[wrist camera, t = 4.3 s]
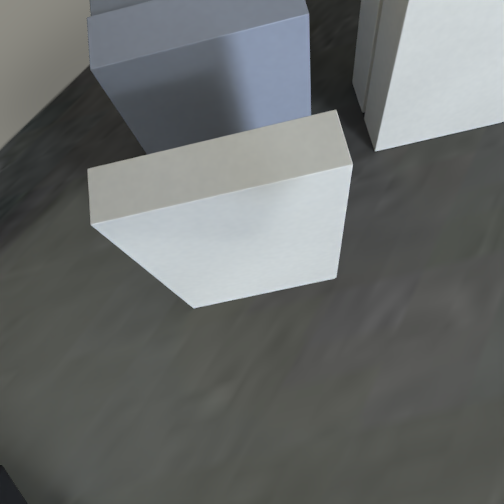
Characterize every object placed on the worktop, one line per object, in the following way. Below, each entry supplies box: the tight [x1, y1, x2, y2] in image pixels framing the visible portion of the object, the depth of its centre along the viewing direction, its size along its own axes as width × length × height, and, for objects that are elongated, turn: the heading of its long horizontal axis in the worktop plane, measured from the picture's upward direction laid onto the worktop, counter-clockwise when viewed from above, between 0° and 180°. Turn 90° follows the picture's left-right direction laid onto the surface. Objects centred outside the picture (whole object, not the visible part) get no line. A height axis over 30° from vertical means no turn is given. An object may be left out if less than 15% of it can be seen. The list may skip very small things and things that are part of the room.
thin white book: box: [87, 110, 353, 308], centre depth 24 cm, size 2×10×15 cm, turn 101°
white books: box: [352, 0, 504, 151], centre depth 27 cm, size 6×10×15 cm, turn 100°
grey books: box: [87, 0, 311, 154], centre depth 29 cm, size 12×11×14 cm
